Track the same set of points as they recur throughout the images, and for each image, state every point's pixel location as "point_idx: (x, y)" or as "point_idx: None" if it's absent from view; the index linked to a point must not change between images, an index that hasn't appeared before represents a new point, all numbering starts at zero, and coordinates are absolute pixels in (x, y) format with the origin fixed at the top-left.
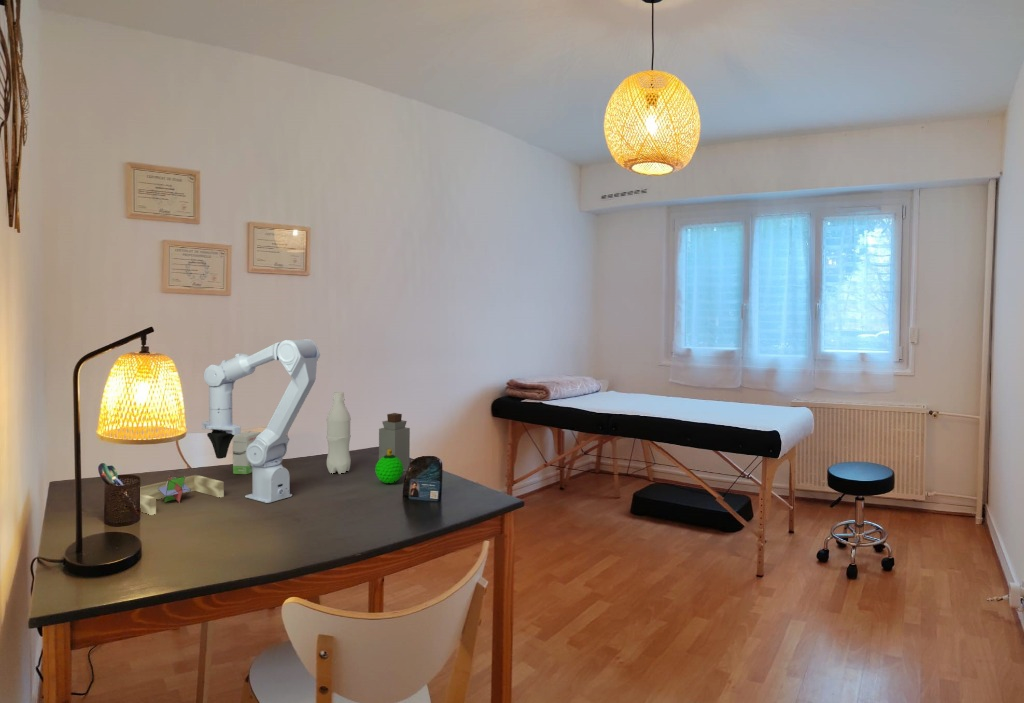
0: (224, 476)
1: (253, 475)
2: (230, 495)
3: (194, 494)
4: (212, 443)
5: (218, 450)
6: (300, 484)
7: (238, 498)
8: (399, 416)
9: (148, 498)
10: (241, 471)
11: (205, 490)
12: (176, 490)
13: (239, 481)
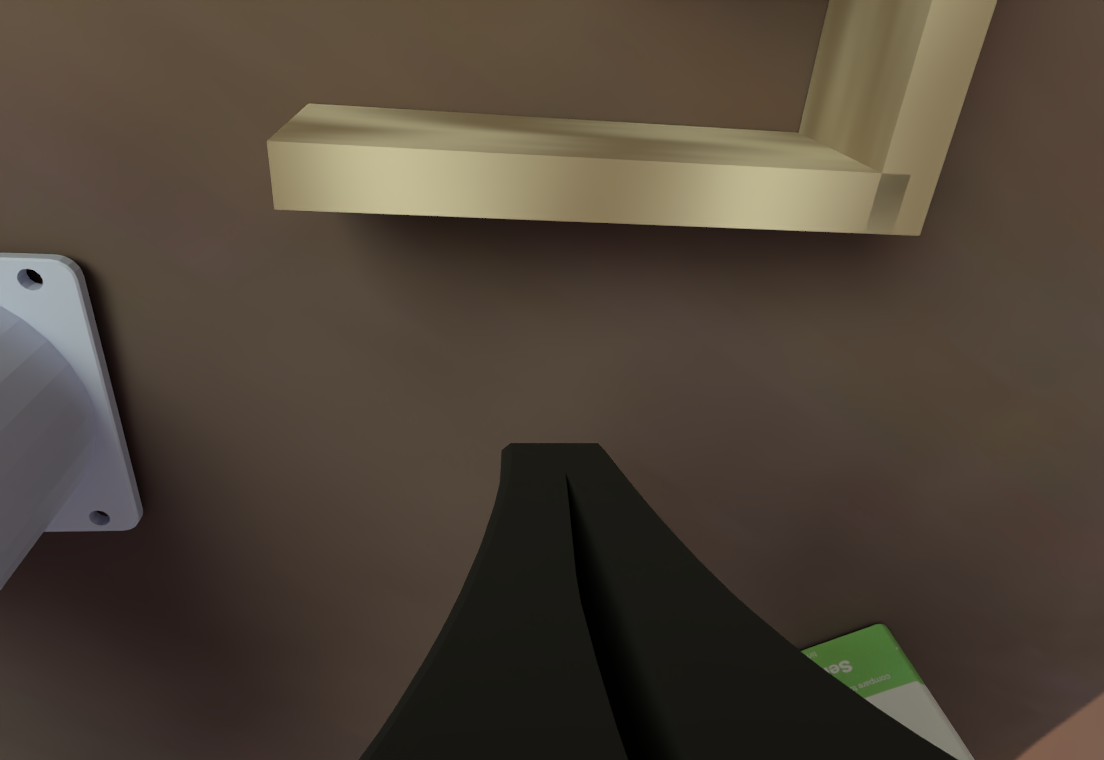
0: (895, 555)
1: None
2: (302, 230)
3: (680, 30)
4: (759, 646)
5: (483, 539)
6: (161, 725)
7: (114, 203)
8: None
9: None
10: (819, 664)
11: (597, 128)
12: None
13: None
